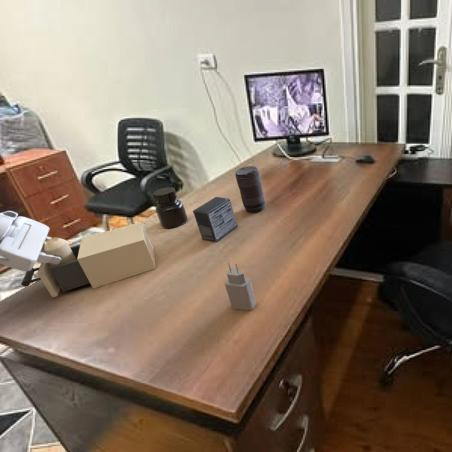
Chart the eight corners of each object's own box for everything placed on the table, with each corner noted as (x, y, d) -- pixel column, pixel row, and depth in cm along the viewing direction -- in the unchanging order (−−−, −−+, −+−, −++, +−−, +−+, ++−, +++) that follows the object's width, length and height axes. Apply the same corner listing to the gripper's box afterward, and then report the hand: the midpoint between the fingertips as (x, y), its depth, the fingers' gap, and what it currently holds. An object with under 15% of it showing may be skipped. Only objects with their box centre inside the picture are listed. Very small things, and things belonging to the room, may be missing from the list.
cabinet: (93, 288, 93) (77, 259, 88) (96, 265, 103) (81, 238, 98) (156, 268, 99) (144, 239, 94) (152, 248, 109) (141, 221, 104)
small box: (223, 223, 119) (215, 195, 114) (238, 226, 116) (231, 198, 111) (200, 239, 111) (191, 210, 106) (216, 242, 108) (207, 212, 103)
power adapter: (251, 311, 80) (239, 268, 74) (230, 308, 81) (217, 266, 75) (257, 302, 82) (246, 260, 76) (237, 299, 84) (225, 258, 78)
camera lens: (239, 210, 127) (229, 171, 120) (256, 202, 132) (248, 164, 125) (253, 216, 122) (244, 175, 115) (270, 207, 127) (263, 168, 120)
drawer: (29, 304, 88) (13, 280, 84) (38, 281, 97) (23, 258, 93) (115, 277, 95) (103, 253, 91) (115, 257, 104) (105, 235, 100)
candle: (77, 274, 92) (59, 242, 87) (53, 280, 91) (34, 248, 86) (83, 263, 97) (66, 232, 92) (61, 268, 96) (43, 237, 91)
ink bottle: (187, 213, 128) (177, 183, 123) (190, 223, 121) (180, 191, 116) (159, 221, 125) (148, 190, 119) (160, 231, 118) (148, 199, 112)
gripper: (-12, 241, 75) (62, 263, 83) (11, 208, 91) (72, 229, 99) (-26, 266, 75) (49, 285, 84) (0, 228, 91) (61, 247, 100)
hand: (62, 254), depth 92 cm, fingers closed on candle, 5 cm apart
